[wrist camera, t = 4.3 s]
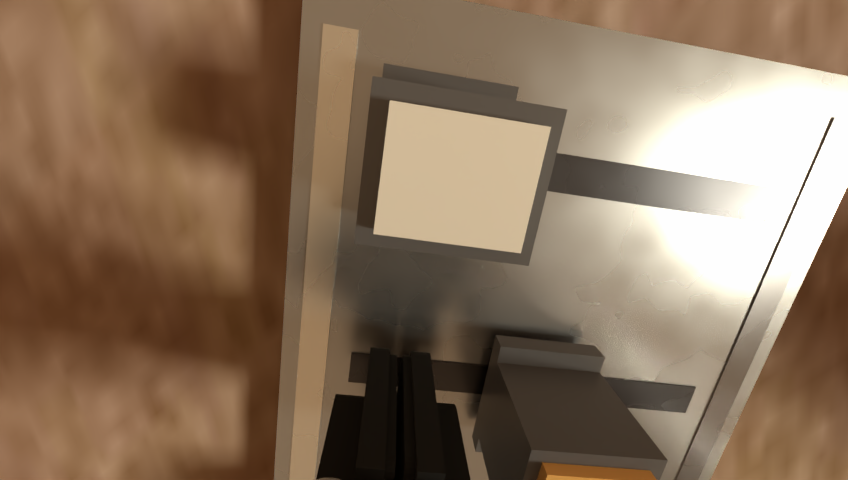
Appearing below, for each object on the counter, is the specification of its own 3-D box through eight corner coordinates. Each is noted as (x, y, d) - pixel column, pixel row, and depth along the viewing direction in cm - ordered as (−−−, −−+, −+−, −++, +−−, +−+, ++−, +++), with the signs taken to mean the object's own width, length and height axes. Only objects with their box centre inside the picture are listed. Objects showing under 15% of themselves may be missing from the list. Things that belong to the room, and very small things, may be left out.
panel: (845, 88, 12) (896, 85, 10) (632, 576, 17) (649, 611, 16) (315, -15, 10) (304, -32, 9) (276, 560, 16) (266, 597, 15)
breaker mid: (595, 345, 12) (685, 453, 8) (563, 443, 13) (630, 578, 9) (495, 334, 11) (542, 442, 8) (471, 436, 12) (503, 573, 9)
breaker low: (511, 88, 9) (584, 72, 6) (481, 233, 10) (526, 299, 7) (384, 66, 9) (375, 34, 5) (366, 218, 10) (348, 279, 6)
